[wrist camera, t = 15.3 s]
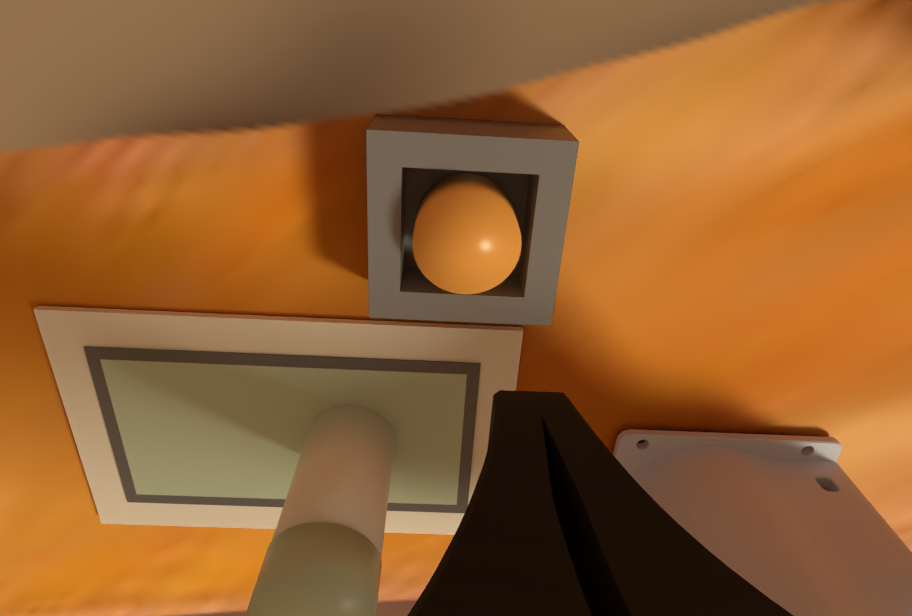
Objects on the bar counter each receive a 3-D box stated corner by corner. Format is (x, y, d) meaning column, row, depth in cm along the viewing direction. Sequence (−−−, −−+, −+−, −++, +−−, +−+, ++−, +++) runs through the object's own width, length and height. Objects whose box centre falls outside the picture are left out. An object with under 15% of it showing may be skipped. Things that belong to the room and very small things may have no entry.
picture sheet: (522, 327, 22) (523, 332, 22) (496, 531, 27) (497, 537, 27) (38, 305, 21) (31, 310, 21) (104, 518, 27) (100, 525, 26)
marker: (397, 406, 23) (375, 581, 16) (395, 475, 25) (373, 661, 18) (304, 401, 23) (240, 576, 16) (308, 471, 25) (252, 657, 18)
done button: (519, 176, 18) (527, 195, 16) (509, 270, 20) (515, 296, 18) (416, 170, 18) (413, 189, 16) (414, 265, 20) (411, 291, 18)
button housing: (563, 124, 19) (579, 141, 16) (540, 292, 21) (550, 325, 19) (375, 114, 18) (366, 129, 16) (377, 284, 21) (369, 317, 19)
